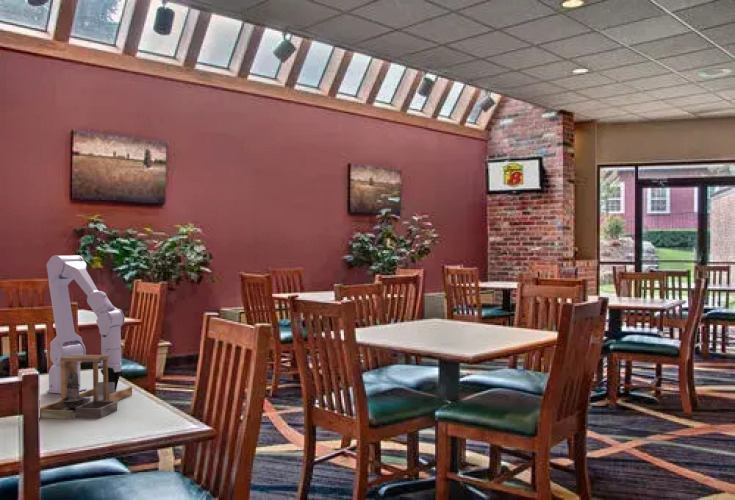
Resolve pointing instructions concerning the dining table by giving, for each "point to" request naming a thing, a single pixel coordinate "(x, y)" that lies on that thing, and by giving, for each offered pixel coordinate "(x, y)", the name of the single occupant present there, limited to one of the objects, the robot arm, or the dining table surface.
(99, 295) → the robot arm
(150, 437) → the dining table surface
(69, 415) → the brown wooden frame
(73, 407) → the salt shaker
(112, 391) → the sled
